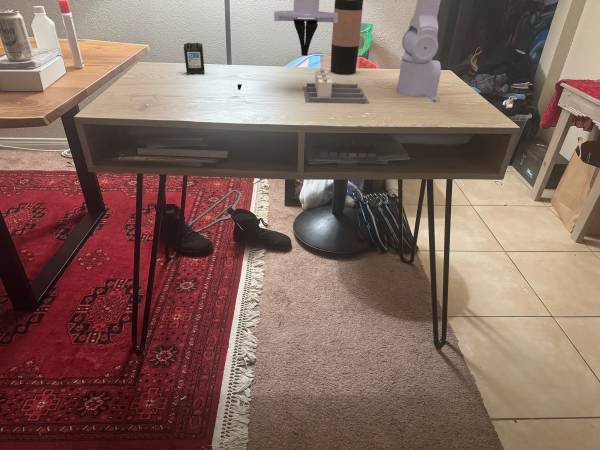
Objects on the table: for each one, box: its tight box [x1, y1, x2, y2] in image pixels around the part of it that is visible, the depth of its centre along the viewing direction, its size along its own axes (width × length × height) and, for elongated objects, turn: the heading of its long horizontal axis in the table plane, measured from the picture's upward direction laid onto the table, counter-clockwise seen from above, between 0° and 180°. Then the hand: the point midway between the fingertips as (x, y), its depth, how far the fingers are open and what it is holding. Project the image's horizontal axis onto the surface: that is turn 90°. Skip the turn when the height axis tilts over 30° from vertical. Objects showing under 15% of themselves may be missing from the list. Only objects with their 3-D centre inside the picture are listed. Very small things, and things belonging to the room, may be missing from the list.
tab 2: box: [317, 77, 333, 98], centre depth 99 cm, size 3×3×5 cm
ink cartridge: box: [183, 42, 206, 75], centre depth 119 cm, size 5×2×8 cm, turn 99°
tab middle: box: [316, 72, 331, 92], centre depth 103 cm, size 3×3×5 cm
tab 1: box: [314, 67, 330, 88], centre depth 106 cm, size 3×3×5 cm
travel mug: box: [330, 0, 364, 76], centre depth 119 cm, size 8×8×20 cm
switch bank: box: [302, 82, 371, 105], centre depth 104 cm, size 15×13×2 cm
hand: (304, 54), depth 103 cm, fingers closed
